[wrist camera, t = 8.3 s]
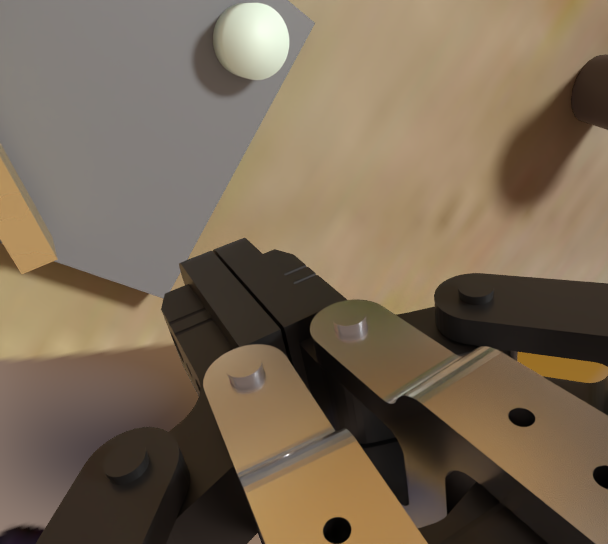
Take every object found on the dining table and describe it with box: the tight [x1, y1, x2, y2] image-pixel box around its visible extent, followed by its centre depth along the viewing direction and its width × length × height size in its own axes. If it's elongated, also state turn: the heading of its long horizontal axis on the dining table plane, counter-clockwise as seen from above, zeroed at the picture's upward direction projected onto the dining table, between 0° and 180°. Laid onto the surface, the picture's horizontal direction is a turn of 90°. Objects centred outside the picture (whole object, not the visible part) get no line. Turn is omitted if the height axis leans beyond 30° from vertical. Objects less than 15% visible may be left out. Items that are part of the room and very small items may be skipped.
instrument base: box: [0, 0, 315, 299], centre depth 25 cm, size 18×22×4 cm
